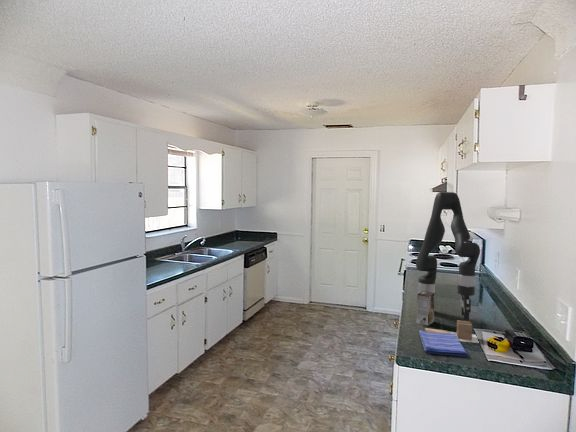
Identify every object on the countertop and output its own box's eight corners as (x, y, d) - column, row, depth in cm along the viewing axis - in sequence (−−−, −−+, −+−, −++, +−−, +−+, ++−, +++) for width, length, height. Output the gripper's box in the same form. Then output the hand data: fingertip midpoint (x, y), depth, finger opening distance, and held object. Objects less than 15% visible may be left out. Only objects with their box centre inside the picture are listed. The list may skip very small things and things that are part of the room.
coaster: (424, 329, 197) (424, 327, 197) (448, 331, 194) (448, 330, 194) (425, 335, 187) (425, 334, 187) (450, 338, 184) (450, 337, 184)
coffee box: (422, 319, 213) (423, 290, 212) (434, 322, 209) (435, 292, 208) (415, 323, 206) (417, 293, 205) (428, 326, 202) (429, 295, 201)
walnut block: (456, 334, 190) (457, 320, 189) (469, 335, 188) (470, 321, 188) (457, 338, 184) (458, 323, 184) (471, 340, 182) (472, 325, 182)
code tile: (449, 331, 194) (449, 331, 194) (475, 335, 190) (475, 334, 190) (451, 340, 182) (451, 339, 182) (479, 343, 179) (479, 343, 178)
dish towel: (425, 354, 165) (425, 347, 165) (418, 333, 188) (418, 328, 188) (468, 358, 162) (469, 351, 161) (455, 336, 185) (455, 331, 185)
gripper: (456, 280, 193) (454, 313, 193) (459, 286, 179) (458, 321, 180) (472, 282, 190) (471, 314, 191) (477, 288, 177) (476, 323, 177)
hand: (465, 317), depth 185 cm, fingers open, 8 cm apart
